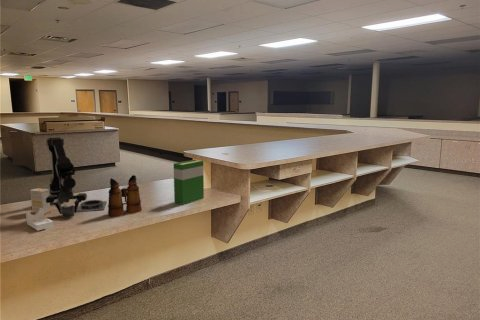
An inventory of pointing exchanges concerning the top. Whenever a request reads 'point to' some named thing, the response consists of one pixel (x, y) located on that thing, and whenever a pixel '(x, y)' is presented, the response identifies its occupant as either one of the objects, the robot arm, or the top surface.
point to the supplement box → (40, 200)
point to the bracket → (39, 220)
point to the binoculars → (132, 198)
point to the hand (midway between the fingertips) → (68, 213)
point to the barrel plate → (92, 205)
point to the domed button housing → (67, 210)
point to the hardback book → (188, 181)
